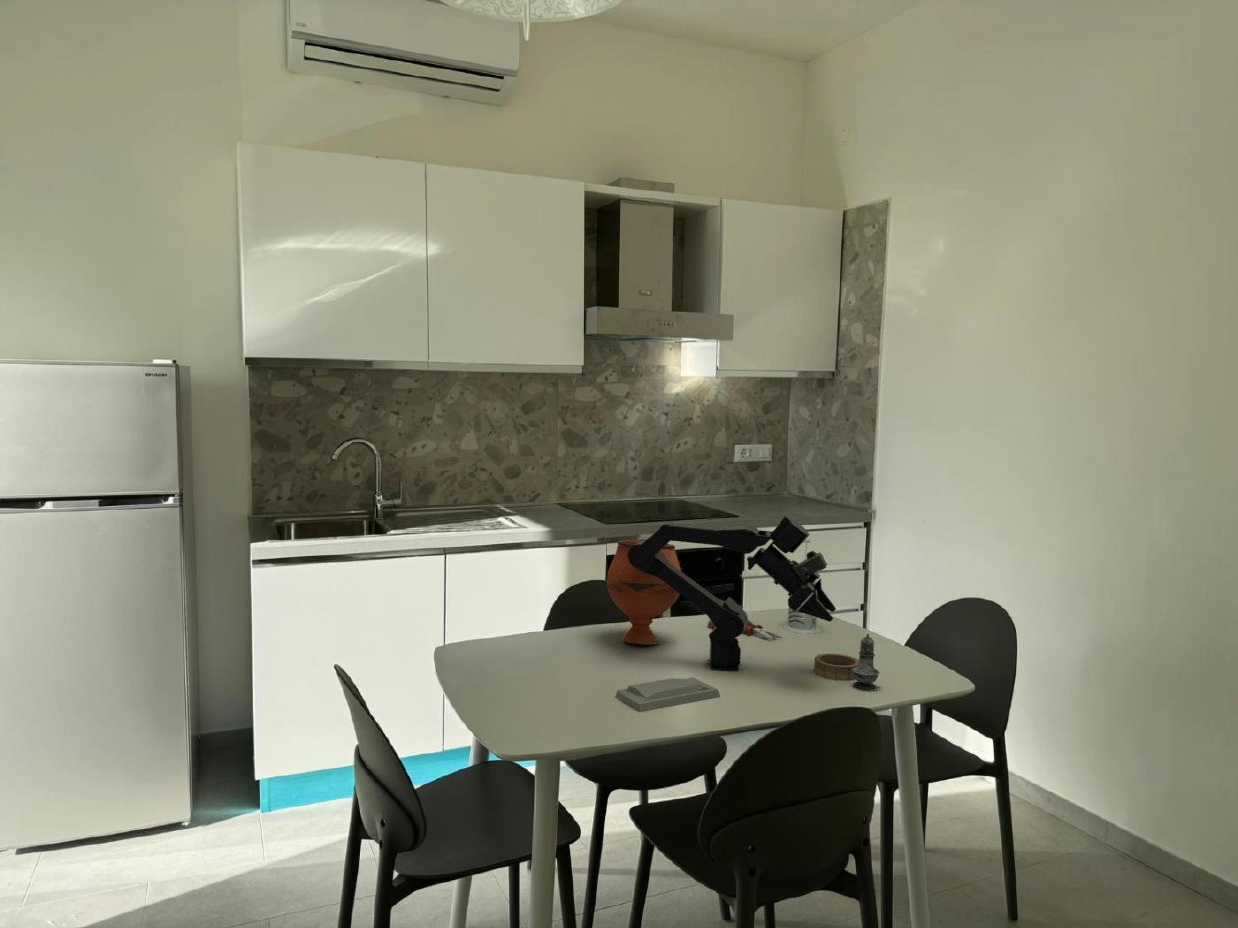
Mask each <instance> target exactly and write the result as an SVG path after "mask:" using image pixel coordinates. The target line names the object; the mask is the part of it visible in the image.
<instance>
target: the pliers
mask: <svg viewBox="0 0 1238 928" xmlns="http://www.w3.org/2000/svg"><path fill="white" fill-rule="evenodd" d="M707 627H708V628H709V629H712V630H713V629H714V628H715V626H714V624H713V623H712V621H711V620H710V619H709V621H707ZM741 635H744V636H745V635H746V637H751V636H754V637H758V638H761V639H765V640H769V641H770V640H771V641H775V639H782V638H783V637H782V636H780V635H778V634H777V633H774V632H771V631H769V630H766V629H763V626H762V625H761V624H755V623H753V622H752V621H751V620H749V619H748V624H747V626H746V628H745V629H744V631H743V632H742V634H741Z"/></svg>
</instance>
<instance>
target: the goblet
mask: <svg viewBox="0 0 1238 928" xmlns="http://www.w3.org/2000/svg"><path fill="white" fill-rule="evenodd" d="M641 541H642V540H639V539H638V540H637V539H636V540H635V539H620V540H618V541H617V547H616V550H615V554H614V557H613V559H612V562H611V563H610V565H609V568H608V571H607V575H606V584H607V585H606V586H607V591H608V594H609V596H610V598H611V600H612V601H613V603H614V604H615V606H617V608H618V609H619V610H620V611H621V612H623V613H624V614H625V615H626V616H628V617H629V619H628V620H629V623H630V624H631V627H630V629H629V630H628V631H627V632H626V633H625V635H624V636H623V638H622V641H623V642H626V643H628V644H635V645H645V646H646V645H655V644H657V643H658V640H657V637H656V635H655V634H654V632H653V631H652V629H651V627H650V626H651V624H652V623H654V622H653V619H654V618H656V617H658V616H660V615H663V613H665V612H667V611H668V610H670V608H671V607H672V606H673V605H674V604H675V602H677V600H678V598H679V597H680V596H681V594H679V593H678V592H677V591H675V590H674V589H673V588H671V587H670V586H669V585H667V584H666V583H665V582H663V581H662V580H661V579H659V578H658V577H656V576H653V575H650V574H647V573H644V572H642V571H640V570H638V569H636V568H635V567H633V566H632V565H631V564H630V563H629V561H628V552H629V550H630V548H631V547H632V546H634V545H636V544H637V543H639V542H641ZM661 551H662V552H663V554H664V555H665V557H666V558H667V560H668V561H669V562H670V563H671V564H672V565H673V566H674V567H676V568H677V569H678V570H680V571H681V572H682V568H681V565H680V563H679V559H678V556H677V553H676V546H675V545H674V544H670V543H667V544H666V545H665V546H664V547H663V548H662V549H661Z"/></svg>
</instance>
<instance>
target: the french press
mask: <svg viewBox="0 0 1238 928" xmlns="http://www.w3.org/2000/svg"><path fill="white" fill-rule="evenodd" d="M803 543H805V552H807V548H808V543H809V544H810V543H811V538H809V537H807V538H806V539H805V540H804V542H803ZM806 559H807V554H805V559H804V560H806ZM819 579H820V578H818V579H816V580H815V581H816V582H817V581H818V580H819ZM797 610H798V609H797ZM797 610H796V611H794V610H792V609H791V608H790V607H789V606H788V614H787V616H788V618H787V623H786V624H785V625H784V626H783V629H785V630H787V631H789V632H792V633H796V634H803V635H804V634H805V635H806V634H811V635H812V634H818V633H820V632H821V629H820V627H818V626H817V625H818V618H817V617H814V616H811V615H808V614H805V613H802V612H797ZM803 618H804V619H803Z"/></svg>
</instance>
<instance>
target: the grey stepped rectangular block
mask: <svg viewBox="0 0 1238 928" xmlns="http://www.w3.org/2000/svg"><path fill="white" fill-rule="evenodd" d="M614 697H615V698H616V699H618V700H619V701H621V702H623V703H624V704H626V705H628V706H629V707H631V708H632V709H634V710H635V711H637V712H639V713H645V712H650V711H654V710H655V711H656V710H659V709H660V710H661V709H665V708H670V707H671V708H672V707H675V706H679V705H681V706H682V705H686V704H691V703H692V704H693V703H697V702H701V701H707V700H712V699H713V700H714V699H718V698H721V695H720V692H719V689H718V688H716V687H714V686H712V685H710V684H708V683H706V682H704V681H701V680H699V679H697V678H695V677H686V678H685V677H684V678H683V677H681V678H680V677H679V678H678V677H677V678H671V677H670V678H666V679H659V680H654V681H649V682H643V683H638V684H629V685H628V686H627V688H624V689H618V690H616V694H615V696H614Z"/></svg>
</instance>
